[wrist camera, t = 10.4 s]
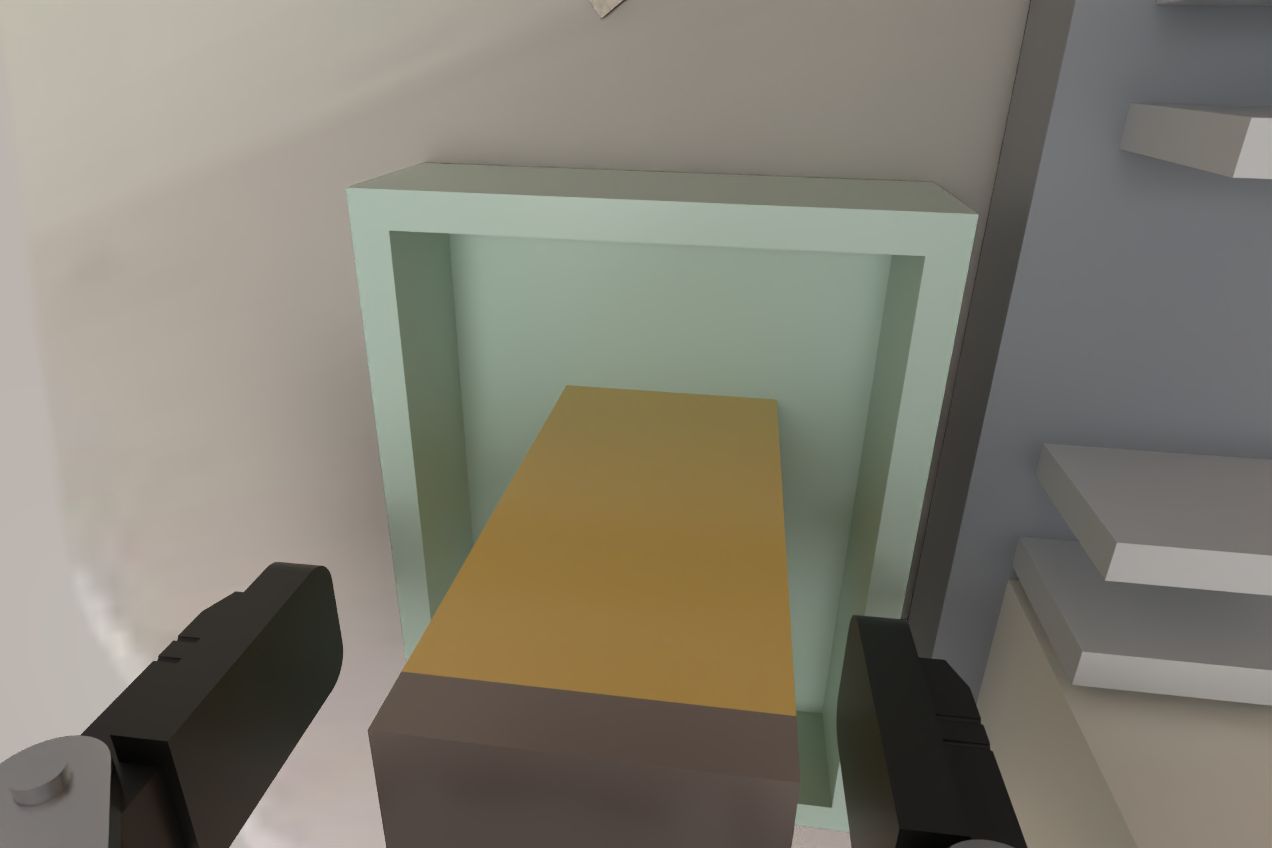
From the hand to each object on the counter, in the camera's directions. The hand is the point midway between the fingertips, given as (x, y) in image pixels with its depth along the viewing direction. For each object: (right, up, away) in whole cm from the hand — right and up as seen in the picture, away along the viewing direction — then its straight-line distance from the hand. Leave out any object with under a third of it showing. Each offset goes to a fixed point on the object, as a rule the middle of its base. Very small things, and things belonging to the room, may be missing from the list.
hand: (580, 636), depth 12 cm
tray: (+1, +2, +5) cm, 5 cm away
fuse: (+1, +2, +4) cm, 5 cm away
